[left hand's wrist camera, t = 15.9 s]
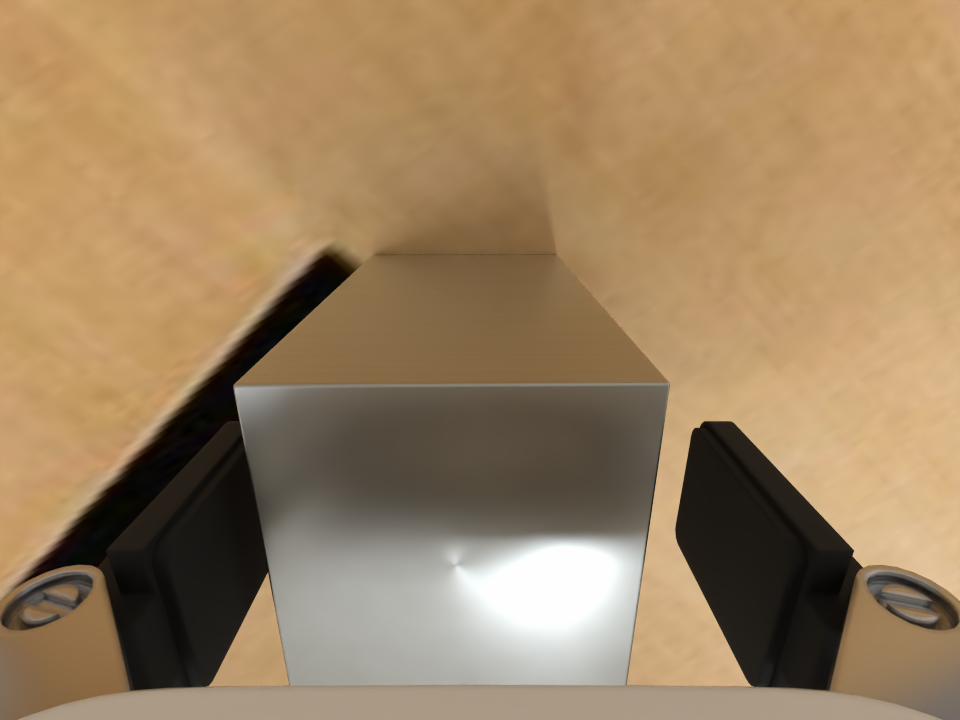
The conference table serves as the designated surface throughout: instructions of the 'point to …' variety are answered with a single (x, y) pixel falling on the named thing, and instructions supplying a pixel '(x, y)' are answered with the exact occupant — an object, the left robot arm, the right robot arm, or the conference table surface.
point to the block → (455, 477)
